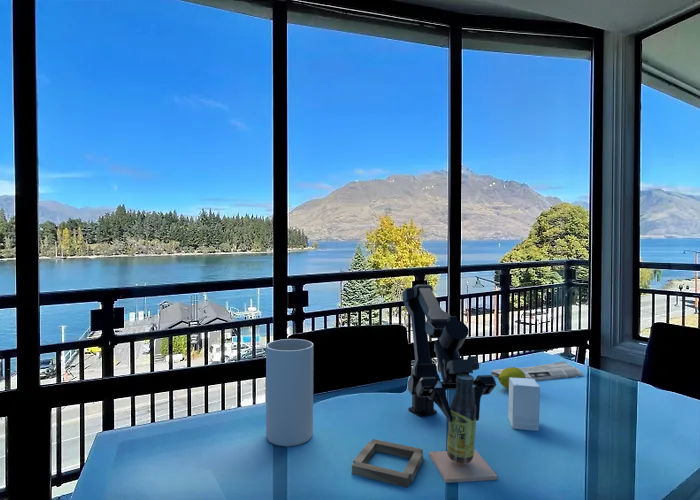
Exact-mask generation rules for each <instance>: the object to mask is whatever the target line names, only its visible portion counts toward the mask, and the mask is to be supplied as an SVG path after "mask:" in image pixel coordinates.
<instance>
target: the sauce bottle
mask: <svg viewBox="0 0 700 500" xmlns="http://www.w3.org/2000/svg"><path fill="white" fill-rule="evenodd" d="M474 380H475V377H474V376H473V375H471V374H470V373H469V374H457V375H456V382H457V384H456V390H455V392H454V397H453V399H452V402H451V404H450V406H449V407H450V411H451V414H452V422H449V421H448V425H447V426H448V427H447V441H446V449H447V450H446V451H447V454H448V457H449V458H450V459H451V460H453V461H456V462H459V463H468V462H471V461H472V459H473V455H474V450H475V447H476V446H475V445H476V444H475V442H476V428H477V427H476V426H477V421H476V403H475V401H474V400H473V397H472V394H473V393H472V388H473V383H474Z"/></svg>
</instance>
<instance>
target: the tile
mask: <svg viewBox="0 0 700 500" xmlns="http://www.w3.org/2000/svg"><path fill="white" fill-rule="evenodd" d="M428 453H429V457H430V459H431V461H432V462H433V464H434V466H435V467H436V469H437V471H438V472H439V474H440V476H441V477H442V480H443V481H444V483H445V484H447V483H448V484H450V483H463V482H464V483H465V482H478V481H493V480H498V475H497V473H495V471H494V470H493V469H492V468H491V466H490V465H489V464H488V463H487V462H486V460H485V459H484V457H482V455H480V453H479V451H477V449H474V455H473V459H472V461H471V462H468V463H459V462H456V461H453V460H451V459H450V458H449V457H448V454H447V450H445V451H443V450H442V451H439V450H438V451H429V452H428Z"/></svg>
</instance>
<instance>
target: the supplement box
mask: <svg viewBox="0 0 700 500" xmlns="http://www.w3.org/2000/svg"><path fill="white" fill-rule="evenodd" d="M540 396H541V386H540V385H539V383H538V381H535V379H528V378H509V390H508V409H507V410H508V412H507V417H508V421H509V424H510V427H511V428H512V429H515V430H523V431H535V432H539V431H540V410H541V409H540V404H541V403H540V402H541V401H540V398H541V397H540Z"/></svg>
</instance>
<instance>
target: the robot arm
mask: <svg viewBox="0 0 700 500" xmlns="http://www.w3.org/2000/svg"><path fill="white" fill-rule="evenodd" d="M402 302H403V303H404V304H403V305H404V308H405V310H406V312H407V313H408V314H409V316H410V321H411V330H412V332H411V333H412V340H413V342H412V343H413V350H414V360H415V361H414V363H413V365H412V367H411V370H410V373H411V374H410V376H409V378H408V380H407V390H408V392H409V393H410V395H411V398H412V399H411V401H412V402H411V405H412V406H410V407H408V408H407V409H408V411H410V412H412V413H414V414H415V415H417V416H419V417H421V418H423V417H426V416H430V415H434V414H436V413H438V410H436V409H435V404H436V406H438V408H439V410H440V411H441V412H442V413H443V415H444V416H445V417H446V419H447V420H448V422H452V414H451V411H450V407H451V406H450V405H449V404H450V403H449V401H448V398H447V391H450V390H451V391H454V390H455V391H456V384H457V382H456V375H457V374H469V375H470V374H474V371H477V370H480V364H479V363H480V362H479V360H478V359H479V358H478V356H477V355H474V356H473V355H470V356H467V358H466V359H465V358H464V359H463V357H461V356H460V352H459V349H461V348H462V346H463V344H464V342H465V340H466V339H467V337H468V335H469V332H470V331H469V328H468V326H467V325H466V324H465V322H463V321H461V320H459V319H458V316H456V315H455V316H451V314H450V313H449V312H447V311H445V310H443V309H442V307H441V306H440V303H439V300H437V298H436V296H435V294H434V292H433V286H432V285H430V284H416V285H414V286H412V287H405V288H404V290H403V291H402ZM429 338H430V339H437V340H436V341H435V342H434V345H433V347H434V348H433V352H434V353H435V355H436V359H437V364H438V366H437V364H436V363H434V362H433V361H432V360H431V354H430V345H429ZM439 373H440V375H439ZM440 377H441V378H440ZM441 380H442V381H441ZM496 386H497V381H496V378H495V376H492V375H491V374H484V375H483V374H482V375H481V374H478V375H477V376H476V377H475V378H474V383H473V388H472V393H473V394H472V397H473V400H474V401H475V403H476V422H478V421H479V420H480V411H481V410H480V409H481V399H482V396H485V395H489V394H491V393H492V391H493V390H494V389H495V387H496Z"/></svg>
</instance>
